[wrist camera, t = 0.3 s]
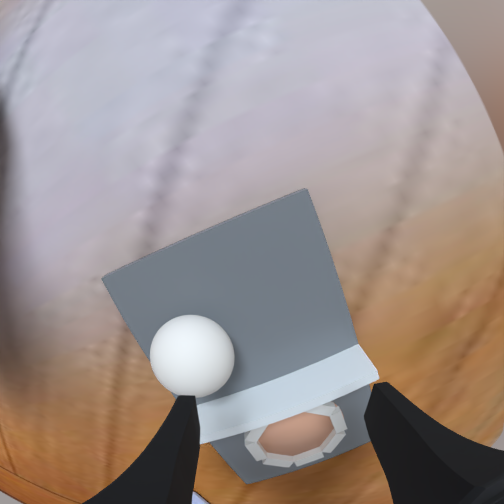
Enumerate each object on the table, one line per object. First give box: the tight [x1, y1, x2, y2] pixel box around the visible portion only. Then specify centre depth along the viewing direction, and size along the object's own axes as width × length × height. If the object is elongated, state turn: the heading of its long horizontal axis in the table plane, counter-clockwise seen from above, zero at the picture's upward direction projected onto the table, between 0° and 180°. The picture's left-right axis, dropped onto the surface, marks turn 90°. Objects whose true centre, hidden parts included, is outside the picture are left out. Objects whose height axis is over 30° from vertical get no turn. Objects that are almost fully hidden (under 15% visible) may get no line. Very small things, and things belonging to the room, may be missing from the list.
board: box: [102, 188, 379, 484], centre depth 20 cm, size 14×24×4 cm, turn 22°
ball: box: [150, 315, 235, 398], centre depth 18 cm, size 5×5×5 cm
